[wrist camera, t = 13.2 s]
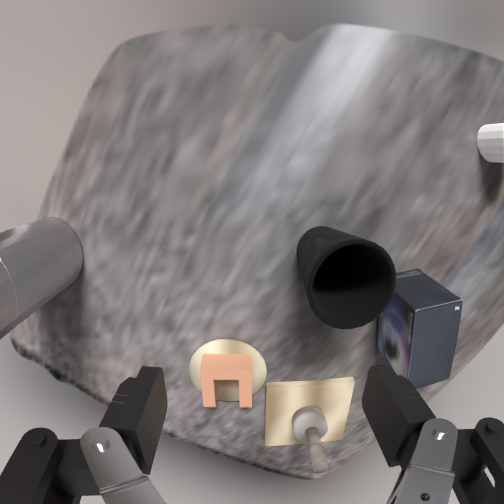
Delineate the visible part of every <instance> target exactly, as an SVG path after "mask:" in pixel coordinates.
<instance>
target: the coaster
mask: <svg viewBox="0 0 504 504" xmlns="http://www.w3.org/2000/svg"><path fill="white" fill-rule="evenodd" d="M203 354H251V366H252V395H253V394H255V393H256V392H257V391H258V390H259V389H260V388H261V387H262V385H263V384H264V382H265V379H266V373H267V371H266V364H265V361H264V358H263V357H262V355H261V354H260V353H259V351H258V350H256V349H255V348H254V347H253V346H251V345H249V344H248V343H246V342H243V341H240V340H236V339H227V338H226V339H217V340H213V341H210V342H208V343H206V344H204V345H202V346H201V347H200V348H198V349H197V350H196V352H195V353H194V354H193V356H192V358H191V361H190V366H189V373H190V377H191V380H192V382H193V384H194V385H195V386H196V387H197V389H198V390H199V391H201V392H202V386H201V377H200V365H201V360H202V355H203ZM216 400H220V401H239V380H217V399H216Z"/></svg>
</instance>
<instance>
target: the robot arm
mask: <svg viewBox="0 0 504 504" xmlns="http://www.w3.org/2000/svg"><path fill="white" fill-rule="evenodd" d="M82 263H83V253H82V248H81V244H80V242H79V239H78V237H77V235H76V234H75V232H74V230H73V229H72V228H71V227H70V226H69V225H68V224H67V223H65V222H64V221H62V220H60V219H57V218H52V217H51V218H44V219H41V220H38V221H35V222H32V223H28V224H25V225H22V226H19V227H15V228H13V229H9V230H6V231H4V232H1V233H0V339H2V338H3V337H4V336H5V335H6V334H7V333H9V332H10V331H11V330H12V329H14V328H15V327H16V326H17V325H19V324H20V323H21V322H22V321H24V320H25V319H26V318H27V317H29V316H30V315H31V314H32V313H34V312H35V311H36V310H38V309H39V308H40V307H41V306H43V305H44V304H45V303H47V302H48V301H49V300H51V299H52V298H53V297H55V296H56V295H57V294H59V293H60V292H61V291H63V290H64V289H65V288H67V287H68V286H69V285H71V284H72V283H73V282H74V281H75V280H76V279H77V278H78V276H79V274H80V272H81V269H82ZM362 407H363V411H364V413H365V415H366V417H367V419H368V422H369V424H370V426H371V428H372V430H373V432H374V435H375V437H376V439H377V441H378V443H379V446H380V448H381V450H382V452H383V454H384V457H385V459H386V461H387V463H388V466H389V467H393V466H398V465H400V466H401V468H402V470H401V472H400V474H399V476H398V478H397V481H396V483H395V485H394V487H393V490H392V492H391V494H390V496H389V498H388V501H387V503H386V504H448V501H449V497H450V494H451V490H452V488H453V490H454V492H455V494H456V496H457V499H458V501H459V503H460V504H504V424H503V423H502V422H501V421H500V420H498V419H495V418H483V419H481V420H480V421H479V422H478V423H477V425H476V427H475V429H457V428H456V426H455V425H454V424H453V423H452V422H450V421H448V420H446V419H442V418H436V417H435V415H434V414H433V412H432V411H431V409H430V408H429V407H428V405H427V404H426V402H425V401H424V400H423V398H422V397H421V395H420V394H419V393H418V391H416V388H415V387H414V386H413V384H412V383H411V381H409V380H408V379H406V378H405V377H403V376H402V375H397V374H396V373H395V371H394V370H393V368H392V367H391V366H390V365H380V366H372V367H370V369H369V372H368V376H367V381H366V385H365V389H364V392H363V396H362ZM166 412H167V395H166V388H165V381H164V374H163V370H162V368H160V367H148V366H142V367H141V369H140V371H139V373H138V376H137V378H132V377H129V378H127V379H126V380H125V381H124V382H122V383H121V384H120V386H119V387H118V389H117V391H116V395H114V397H113V399H112V402H111V403H110V405H109V407H108V409H107V411H106V413H105V415H104V417H103V419H102V421H101V423H100V425H99V427H97V428H93V429H90V430H88V431H87V432H85V433H84V435H83V436H82V437H81V439H76V440H75V439H72V440H71V439H69V440H58V438H57V436H56V435H55V433H54V432H53V431H51V430H49V429H47V428H34V429H31V430H29V431H28V432H26V433H25V434H24V435H23V437H22V438H21V440H20V442H19V443H18V445H17V447H16V449H15V450H14V452H13V454H12V456H11V458H10V459H9V461H8V463H7V464H6V466H5V468H4V470H3V472H2V474H1V475H0V504H79V503H80V500H81V497H82V496H83V495H84V496H89V495H101V496H102V498H103V500H104V502H105V503H106V504H167V503H166V502H165V500H164V499H163V498H162V496H161V495H160V493H159V492H158V491H157V489H156V488H155V486H154V485H153V483H152V482H151V480H150V479H149V478H148V477H147V476H144V475H143V474H147V475H150V471H151V467H152V464H153V460H154V456H155V452H156V449H157V445H158V441H159V438H160V434H161V431H162V427H163V423H164V420H165V416H166ZM486 467H487V468H488V469H489V471H490V473H491V474H492V476H493V478H494V480H495V487H493V485H492V484H491V482H490V480H489V478H488V477H487V475H486V473H485V471H484V470H485V468H486Z"/></svg>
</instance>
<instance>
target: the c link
mask: <svg viewBox="0 0 504 504" xmlns="http://www.w3.org/2000/svg"><path fill="white" fill-rule="evenodd" d="M200 377H201V386H202V395H203V404H204V407H216V399H217V380H239V400H240V407H252V366H251V354H203V355H202V360H201V365H200Z"/></svg>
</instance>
